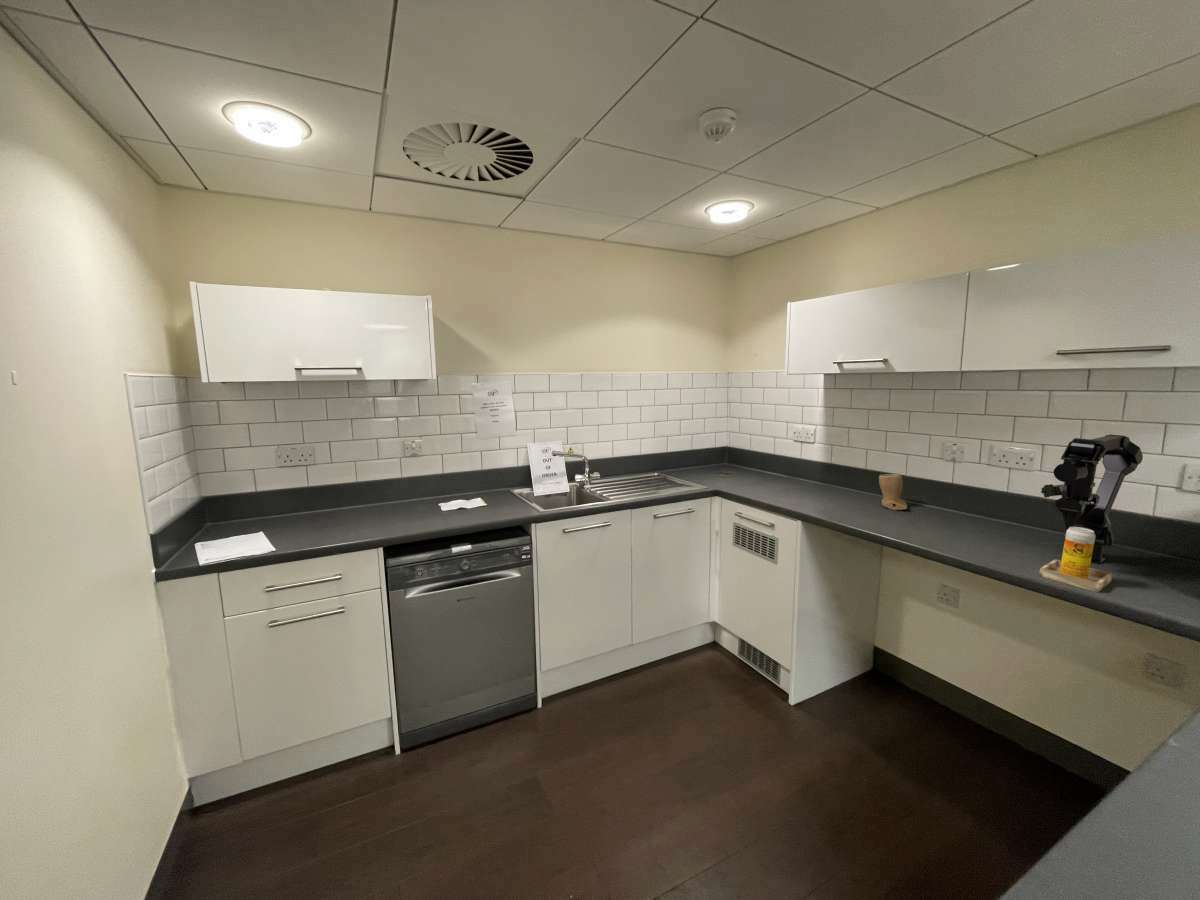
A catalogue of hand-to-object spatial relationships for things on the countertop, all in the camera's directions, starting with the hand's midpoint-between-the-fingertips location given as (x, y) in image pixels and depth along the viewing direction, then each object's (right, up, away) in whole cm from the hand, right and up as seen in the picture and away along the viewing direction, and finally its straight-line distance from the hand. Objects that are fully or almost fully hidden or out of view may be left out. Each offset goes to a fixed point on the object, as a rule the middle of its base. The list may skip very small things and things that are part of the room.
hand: (1072, 527), depth 152 cm
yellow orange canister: (-8, -14, -8) cm, 18 cm away
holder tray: (-6, -14, -7) cm, 17 cm away
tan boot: (-16, -2, +69) cm, 71 cm away
